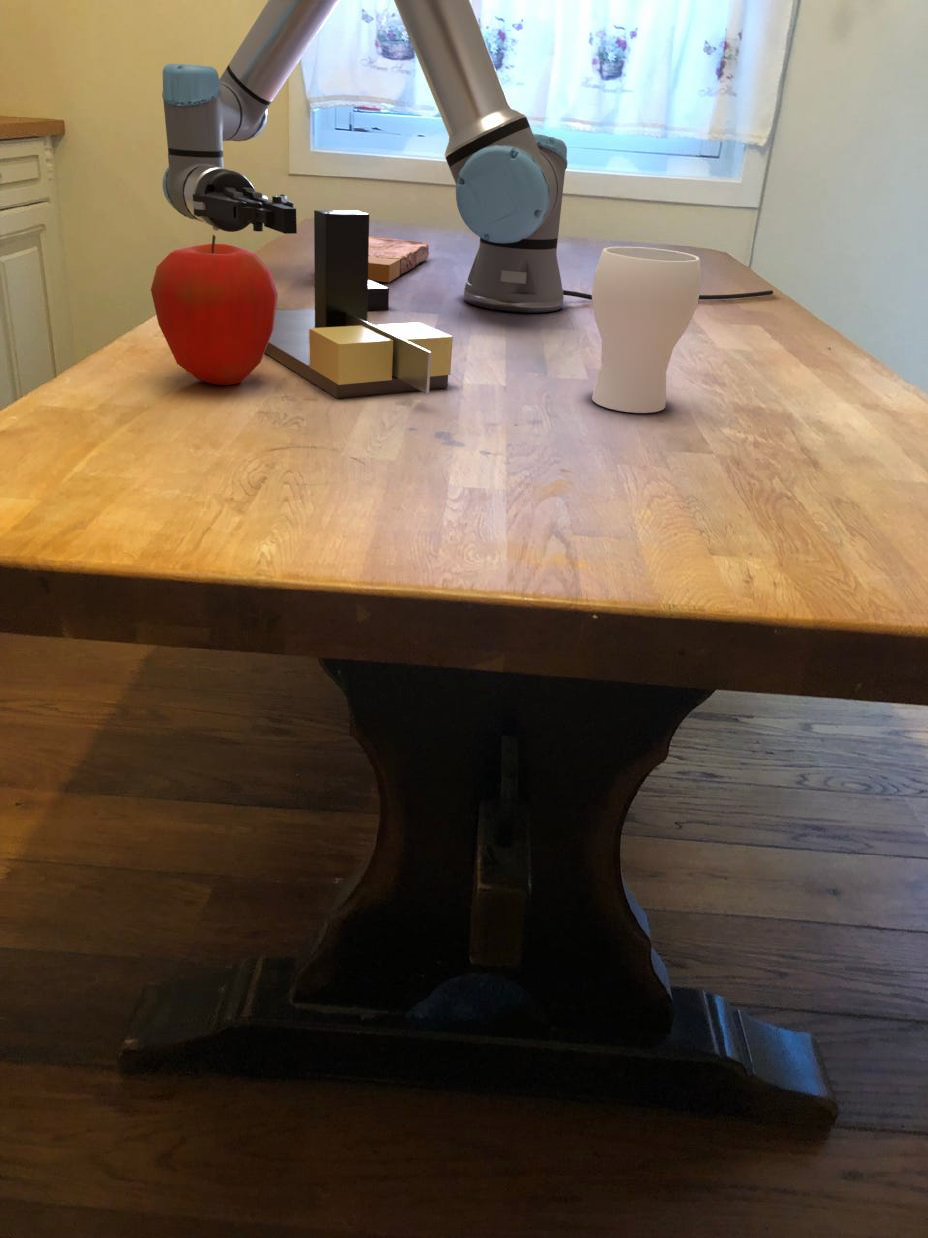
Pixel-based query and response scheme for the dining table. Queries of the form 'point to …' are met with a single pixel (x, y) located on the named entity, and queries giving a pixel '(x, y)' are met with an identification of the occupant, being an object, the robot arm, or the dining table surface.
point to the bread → (393, 257)
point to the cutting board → (294, 353)
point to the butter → (373, 351)
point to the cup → (641, 322)
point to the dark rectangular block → (377, 297)
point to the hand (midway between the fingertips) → (290, 221)
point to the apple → (215, 310)
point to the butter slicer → (355, 288)
